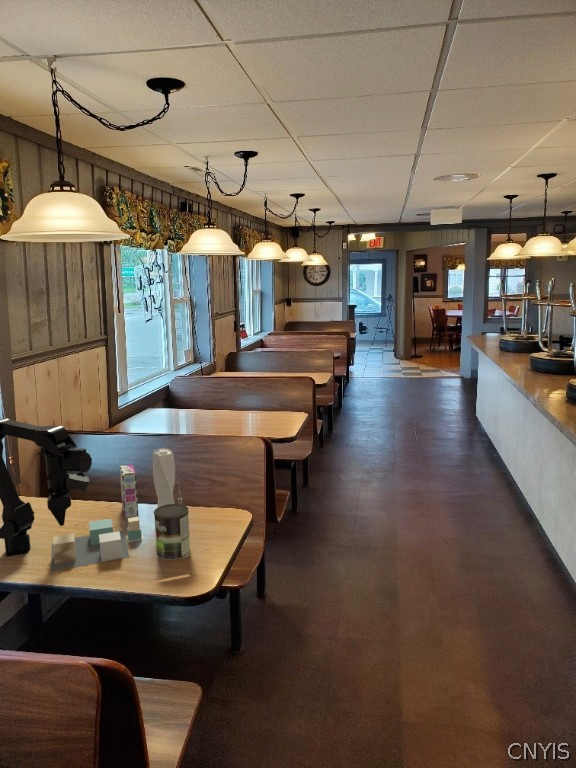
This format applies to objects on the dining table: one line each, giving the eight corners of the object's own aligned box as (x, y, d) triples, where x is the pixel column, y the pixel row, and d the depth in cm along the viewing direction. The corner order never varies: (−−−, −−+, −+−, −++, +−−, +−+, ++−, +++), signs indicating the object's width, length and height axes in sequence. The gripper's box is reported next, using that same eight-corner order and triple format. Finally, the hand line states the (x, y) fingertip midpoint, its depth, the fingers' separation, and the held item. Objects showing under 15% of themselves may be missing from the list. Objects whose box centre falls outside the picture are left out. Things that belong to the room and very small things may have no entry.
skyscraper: (174, 530, 195) (169, 450, 190) (151, 528, 197) (146, 448, 192) (184, 520, 203) (180, 442, 198) (163, 518, 205) (158, 441, 200)
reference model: (127, 543, 187) (126, 523, 185) (126, 537, 191) (124, 517, 190) (143, 540, 188) (142, 521, 187) (141, 534, 193) (140, 515, 192)
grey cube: (101, 561, 174) (99, 542, 173) (100, 552, 179) (98, 534, 178) (122, 557, 176) (121, 539, 175) (120, 549, 181) (119, 531, 180)
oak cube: (54, 563, 173) (52, 544, 172) (55, 555, 179) (53, 536, 178) (76, 560, 175) (74, 541, 174) (75, 551, 181) (74, 533, 180)
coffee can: (167, 565, 172) (164, 520, 170) (150, 553, 180) (147, 509, 177) (197, 554, 179) (194, 510, 176) (180, 542, 186) (177, 500, 184)
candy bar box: (139, 517, 207) (136, 472, 204) (125, 519, 205) (121, 474, 202) (135, 506, 217) (132, 463, 214) (122, 508, 216) (118, 465, 213)
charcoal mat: (51, 573, 169) (50, 571, 169) (52, 543, 188) (52, 541, 188) (129, 559, 176) (129, 557, 176) (123, 531, 196) (123, 529, 195)
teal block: (90, 545, 185) (89, 530, 184) (90, 536, 191) (88, 522, 190) (114, 541, 187) (112, 526, 186) (112, 532, 193) (111, 518, 192)
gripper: (87, 475, 166) (91, 527, 169) (85, 457, 183) (89, 504, 186) (44, 481, 162) (50, 533, 165) (46, 461, 179) (51, 509, 182)
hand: (62, 519), depth 175 cm, fingers open, 9 cm apart
